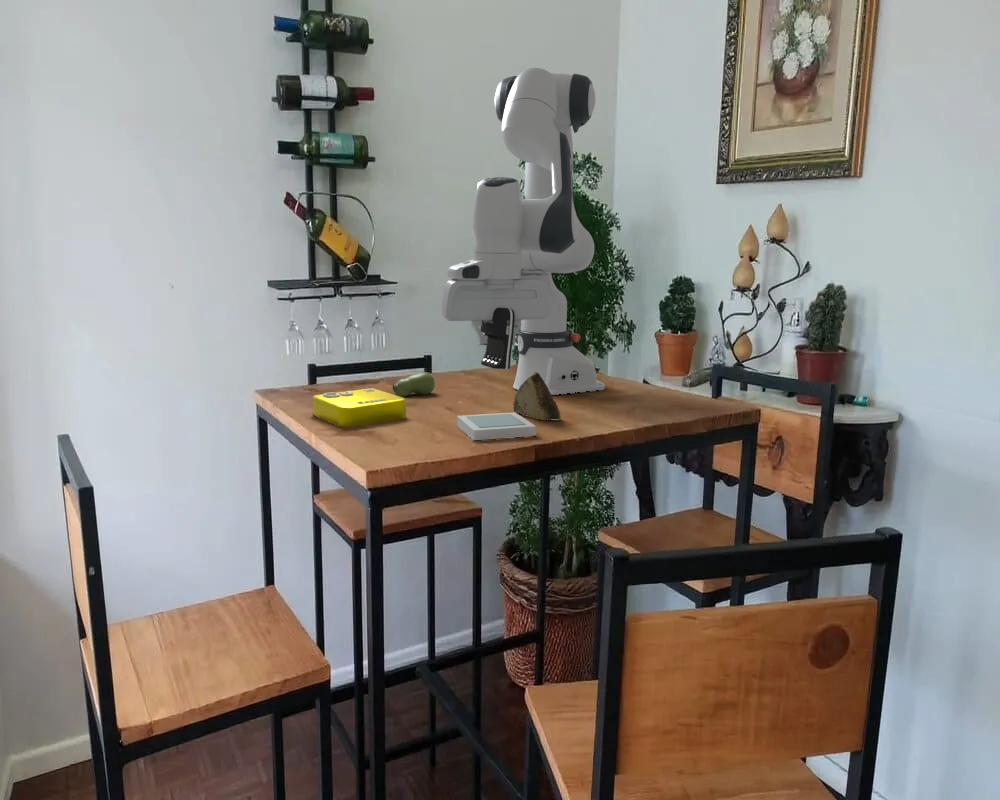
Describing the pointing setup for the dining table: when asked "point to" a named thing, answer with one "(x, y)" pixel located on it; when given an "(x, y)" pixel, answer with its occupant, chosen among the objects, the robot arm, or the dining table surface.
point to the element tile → (359, 407)
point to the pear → (414, 384)
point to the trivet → (495, 426)
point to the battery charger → (499, 338)
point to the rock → (536, 399)
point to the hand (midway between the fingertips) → (496, 344)
